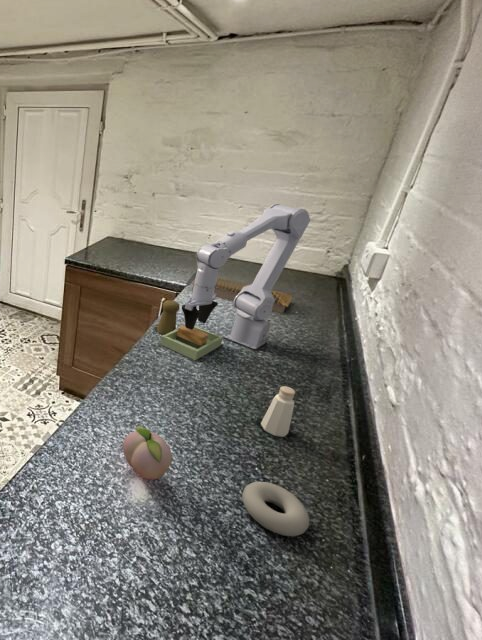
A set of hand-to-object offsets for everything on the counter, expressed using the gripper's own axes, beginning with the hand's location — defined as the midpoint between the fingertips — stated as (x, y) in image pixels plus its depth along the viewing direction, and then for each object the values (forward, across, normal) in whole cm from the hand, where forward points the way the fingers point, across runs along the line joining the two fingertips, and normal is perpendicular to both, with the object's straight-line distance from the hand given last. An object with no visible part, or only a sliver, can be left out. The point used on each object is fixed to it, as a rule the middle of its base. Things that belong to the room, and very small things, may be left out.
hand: (195, 325), depth 124 cm
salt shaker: (+7, +21, +32) cm, 39 cm away
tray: (+7, 0, 0) cm, 7 cm away
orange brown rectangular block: (+7, 0, 0) cm, 7 cm away
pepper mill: (+7, -2, -10) cm, 13 cm away
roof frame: (+8, -56, -10) cm, 57 cm away
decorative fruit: (+7, +57, +22) cm, 62 cm away
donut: (+7, +46, +41) cm, 62 cm away
